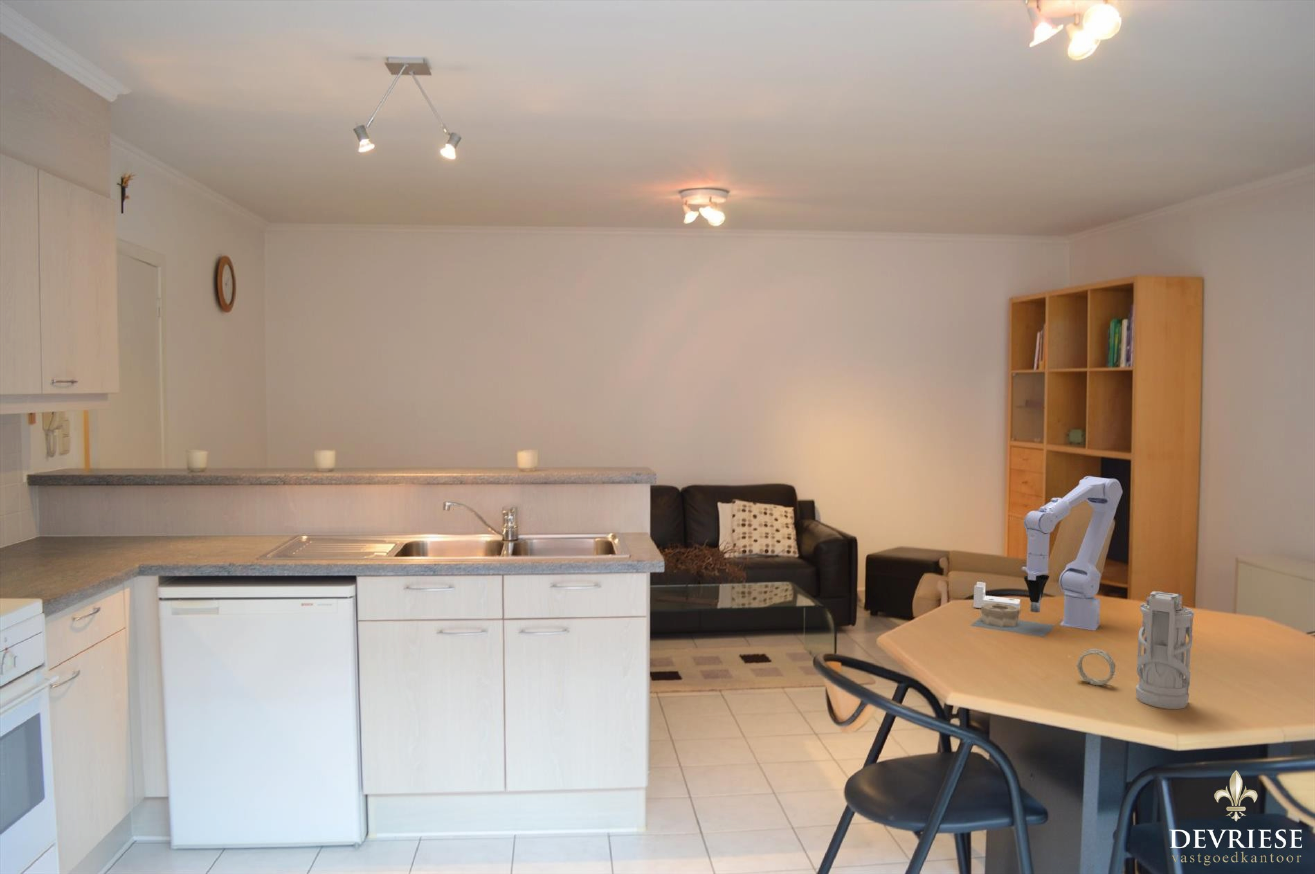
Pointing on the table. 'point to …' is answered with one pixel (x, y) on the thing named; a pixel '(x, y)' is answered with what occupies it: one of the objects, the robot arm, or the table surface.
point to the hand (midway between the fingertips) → (1035, 601)
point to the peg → (1035, 606)
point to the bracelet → (1105, 656)
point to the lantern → (1164, 651)
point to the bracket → (991, 597)
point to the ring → (999, 615)
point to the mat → (1020, 627)
